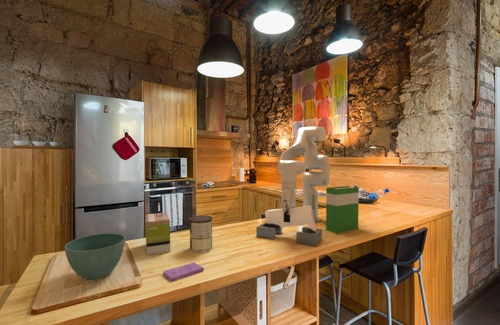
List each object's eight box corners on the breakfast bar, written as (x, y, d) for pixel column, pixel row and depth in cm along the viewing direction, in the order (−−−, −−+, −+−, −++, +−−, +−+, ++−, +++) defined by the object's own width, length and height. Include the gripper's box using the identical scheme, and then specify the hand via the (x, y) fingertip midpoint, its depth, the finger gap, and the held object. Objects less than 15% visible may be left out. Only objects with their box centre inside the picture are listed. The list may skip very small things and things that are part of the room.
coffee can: (185, 248, 117) (185, 217, 117) (204, 242, 124) (204, 214, 124) (197, 254, 110) (197, 221, 109) (217, 248, 117) (217, 217, 117)
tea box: (145, 244, 123) (145, 213, 122) (167, 241, 127) (167, 211, 126) (146, 255, 109) (145, 221, 108) (170, 252, 113) (170, 218, 112)
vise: (266, 230, 144) (266, 221, 144) (321, 238, 130) (321, 229, 130) (256, 236, 134) (256, 226, 134) (315, 246, 119) (315, 235, 119)
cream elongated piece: (314, 232, 123) (309, 206, 124) (268, 235, 135) (263, 212, 135) (317, 229, 128) (312, 204, 128) (272, 232, 140) (267, 209, 140)
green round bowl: (130, 278, 89) (129, 243, 89) (65, 294, 79) (64, 255, 78) (121, 260, 104) (120, 230, 104) (65, 272, 93) (65, 239, 93)
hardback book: (347, 225, 153) (348, 185, 153) (358, 229, 147) (358, 187, 146) (326, 230, 145) (326, 187, 144) (336, 233, 139) (336, 189, 138)
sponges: (163, 276, 92) (163, 270, 91) (194, 266, 100) (194, 261, 100) (171, 283, 86) (171, 277, 86) (204, 272, 95) (204, 267, 95)
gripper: (287, 183, 140) (287, 216, 141) (275, 187, 125) (275, 224, 126) (300, 184, 137) (300, 217, 138) (290, 188, 122) (290, 225, 123)
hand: (288, 220), depth 132 cm, fingers closed on cream elongated piece, 5 cm apart
